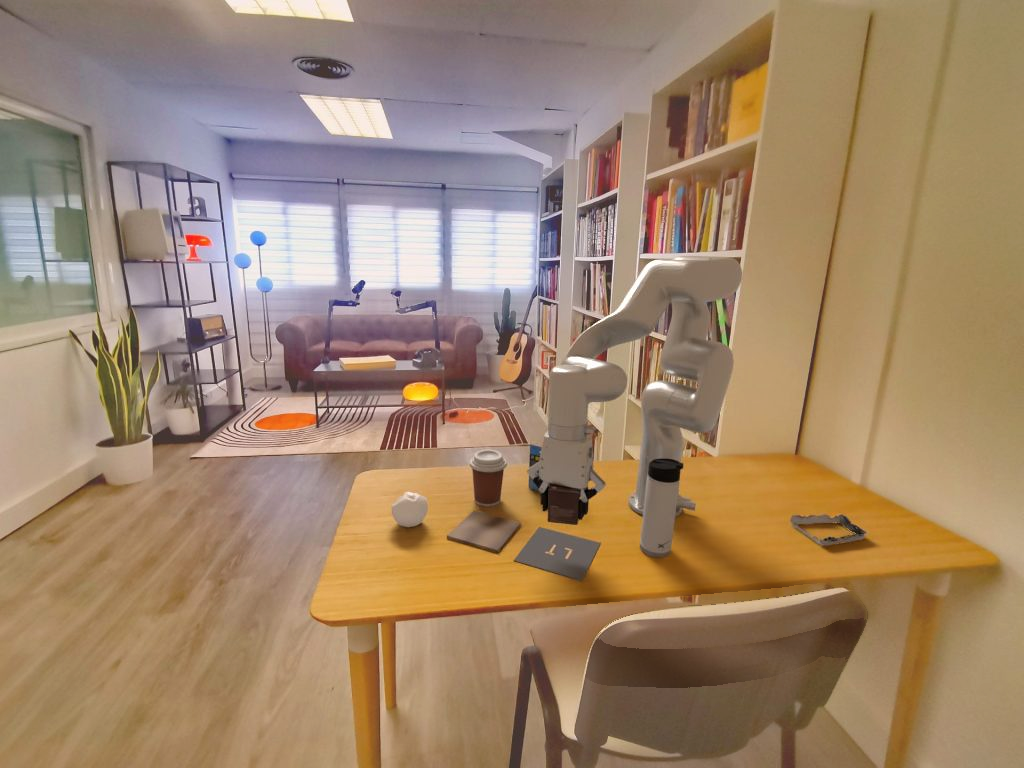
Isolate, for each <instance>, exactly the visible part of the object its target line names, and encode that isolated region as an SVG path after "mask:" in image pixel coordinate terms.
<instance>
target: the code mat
mask: <svg viewBox="0 0 1024 768" xmlns="http://www.w3.org/2000/svg"><path fill="white" fill-rule="evenodd" d="M600 545H601V542H599V541H596V540H591V539H589V538H588V539H587V538H584V537H580V536H576V535H572V534H568V533H565V532H561V531H556V530H553V529H550V528H545V527H541V526H538V528H537V529H536V530H535V531H534V532H533V534H532V535H531V537H529V539H528V540H527V542H526V543H525V545H524V546H523V547H522V549H521V550H520V551H519V552H518V554H517V555H516V557H515V558H514V559H513V561H514V562H517V563H520V564H524V565H527V566H530V567H534V568H536V569H541V570H544V571H547V572H551V573H554V574H556V575H561V576H564V577H568V578H571V579H574V580H577V581H580V582H582V581H583V580H584V578H585V576H586V575H587V574H586V573H587V572H588V570H589V568H590V565H591V564H592V562H593V560H594V558H595V556H596V553H597V551H598V549H599V547H600Z"/></svg>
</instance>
